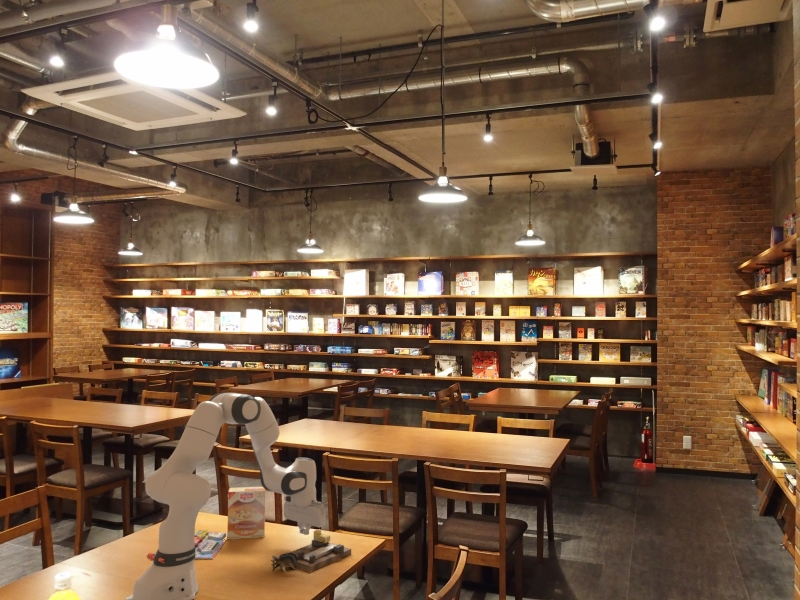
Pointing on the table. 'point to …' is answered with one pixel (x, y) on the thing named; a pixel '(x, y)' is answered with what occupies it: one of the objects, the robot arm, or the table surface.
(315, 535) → the brass bolt
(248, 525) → the coffeecake box
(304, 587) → the table surface
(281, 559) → the eagle figurine
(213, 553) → the puzzle board
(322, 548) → the bar
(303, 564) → the base
